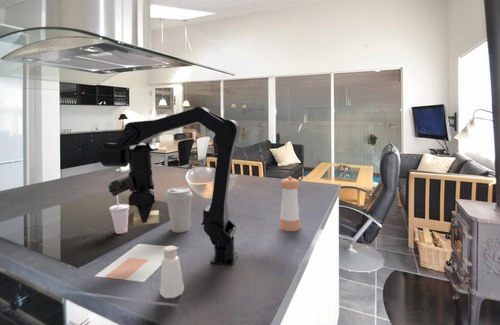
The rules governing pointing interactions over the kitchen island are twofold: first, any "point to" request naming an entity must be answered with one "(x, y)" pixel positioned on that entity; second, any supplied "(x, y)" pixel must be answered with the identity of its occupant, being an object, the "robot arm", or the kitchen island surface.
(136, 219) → the wooden block
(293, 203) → the salt shaker
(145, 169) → the robot arm
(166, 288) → the pepper shaker
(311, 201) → the kitchen island surface
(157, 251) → the mat
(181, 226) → the coffee cup
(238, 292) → the kitchen island surface
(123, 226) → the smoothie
